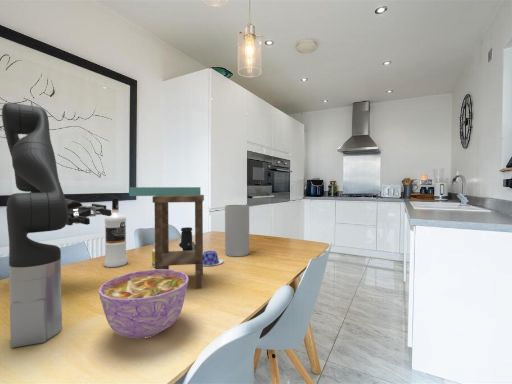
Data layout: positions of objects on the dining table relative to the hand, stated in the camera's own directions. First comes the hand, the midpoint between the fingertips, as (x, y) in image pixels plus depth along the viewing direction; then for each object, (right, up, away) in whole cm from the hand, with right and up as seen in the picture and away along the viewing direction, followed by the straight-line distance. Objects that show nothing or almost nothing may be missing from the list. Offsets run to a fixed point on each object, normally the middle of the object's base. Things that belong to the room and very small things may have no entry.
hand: (100, 217), depth 87 cm
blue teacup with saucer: (+31, -24, +32) cm, 51 cm away
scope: (+18, -24, +45) cm, 54 cm away
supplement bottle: (+9, -24, +28) cm, 38 cm away
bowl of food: (+25, -25, -24) cm, 43 cm away
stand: (+25, -24, +8) cm, 36 cm away
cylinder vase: (+42, -24, +48) cm, 68 cm away
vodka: (-10, -24, +29) cm, 40 cm away
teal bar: (+19, +7, +6) cm, 21 cm away
